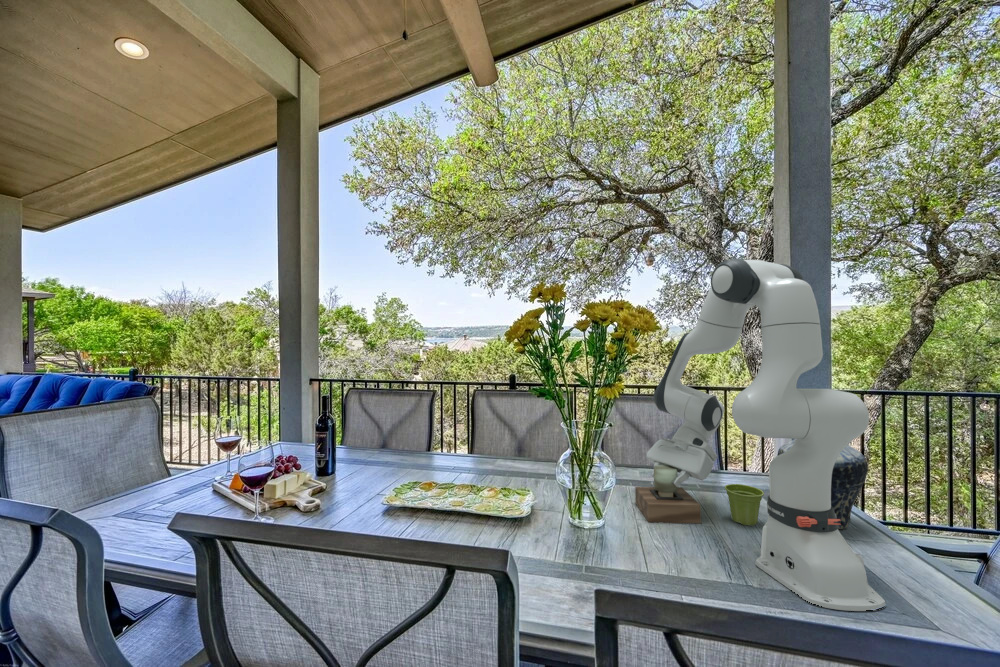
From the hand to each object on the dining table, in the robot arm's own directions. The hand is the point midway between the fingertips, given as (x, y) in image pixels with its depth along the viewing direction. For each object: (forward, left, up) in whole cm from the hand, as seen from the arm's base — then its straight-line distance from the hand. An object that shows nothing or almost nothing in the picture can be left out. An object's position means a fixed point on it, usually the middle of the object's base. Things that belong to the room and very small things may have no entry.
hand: (664, 481), depth 122 cm
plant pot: (-5, -20, -9) cm, 23 cm away
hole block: (0, -1, -9) cm, 9 cm away
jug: (-5, -40, -9) cm, 41 cm away
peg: (0, -1, -7) cm, 7 cm away
